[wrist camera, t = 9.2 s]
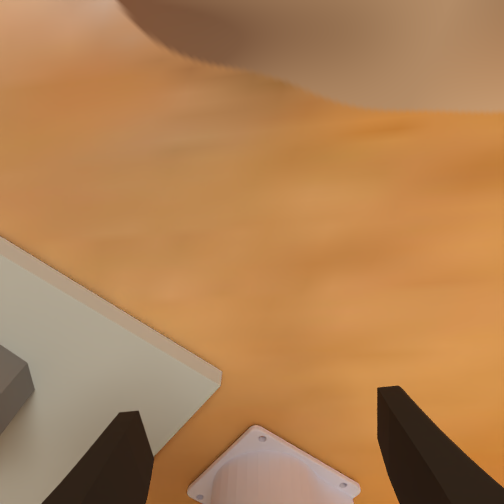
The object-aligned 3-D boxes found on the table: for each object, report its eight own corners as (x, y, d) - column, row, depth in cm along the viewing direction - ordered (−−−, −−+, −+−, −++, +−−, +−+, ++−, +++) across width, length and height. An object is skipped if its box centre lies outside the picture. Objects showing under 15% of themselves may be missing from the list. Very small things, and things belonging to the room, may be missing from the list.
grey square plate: (222, 371, 22) (215, 429, 18) (80, 524, 28) (52, 593, 24) (-38, 213, 19) (-115, 243, 15) (-142, 425, 24) (-218, 488, 20)
